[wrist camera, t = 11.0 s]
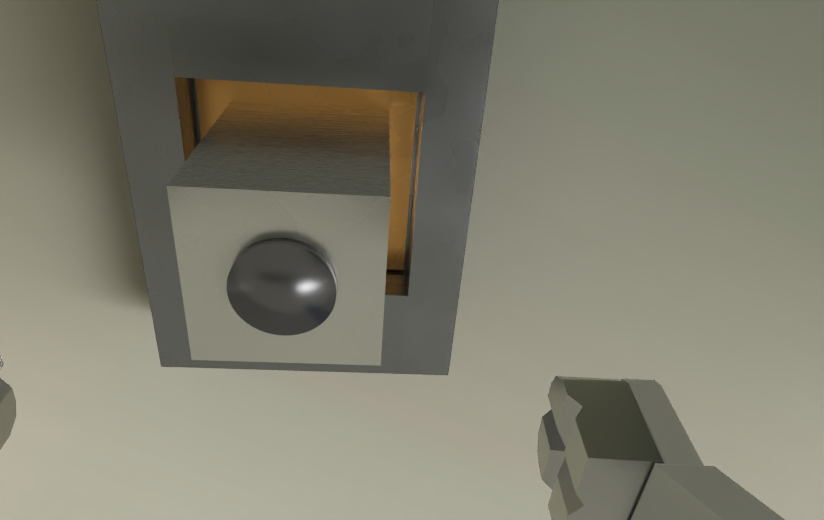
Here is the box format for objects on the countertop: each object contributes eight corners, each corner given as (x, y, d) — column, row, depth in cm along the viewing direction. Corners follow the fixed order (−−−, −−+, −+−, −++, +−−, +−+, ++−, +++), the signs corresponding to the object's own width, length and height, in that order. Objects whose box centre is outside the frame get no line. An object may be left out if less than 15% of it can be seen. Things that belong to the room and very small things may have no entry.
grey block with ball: (389, 110, 16) (390, 203, 11) (381, 246, 19) (380, 374, 14) (230, 101, 16) (161, 192, 11) (241, 240, 18) (188, 368, 13)
